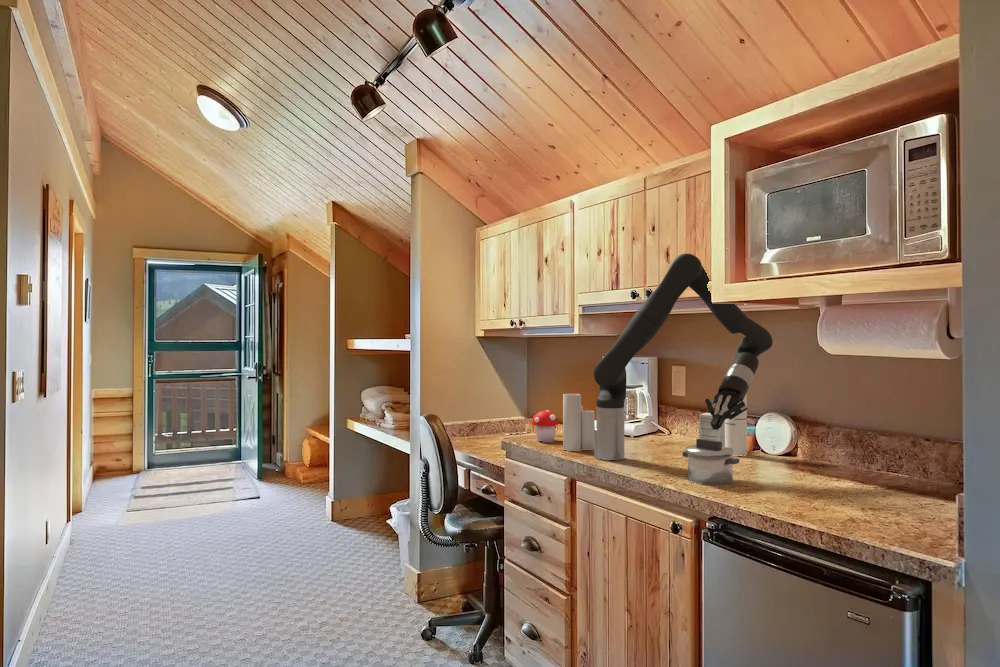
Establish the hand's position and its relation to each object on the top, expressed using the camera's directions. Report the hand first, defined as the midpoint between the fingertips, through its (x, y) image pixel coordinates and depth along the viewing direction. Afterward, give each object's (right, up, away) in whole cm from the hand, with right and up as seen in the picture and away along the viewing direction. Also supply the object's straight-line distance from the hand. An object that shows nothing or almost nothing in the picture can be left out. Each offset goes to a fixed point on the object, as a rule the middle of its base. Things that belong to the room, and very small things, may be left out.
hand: (714, 427), depth 184 cm
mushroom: (-44, -15, +69) cm, 83 cm away
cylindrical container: (+20, -15, +39) cm, 46 cm away
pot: (-2, -15, -2) cm, 15 cm away
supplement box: (+16, -15, +51) cm, 55 cm away
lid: (-2, -7, -2) cm, 7 cm away
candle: (-33, -15, +49) cm, 61 cm away
